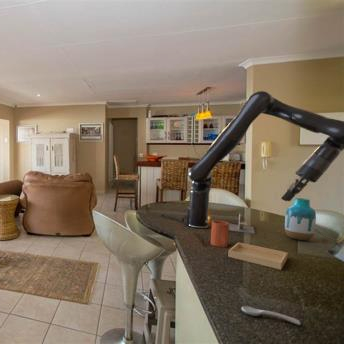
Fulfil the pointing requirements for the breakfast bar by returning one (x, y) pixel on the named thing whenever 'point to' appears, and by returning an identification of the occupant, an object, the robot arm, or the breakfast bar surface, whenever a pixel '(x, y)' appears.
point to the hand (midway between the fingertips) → (284, 200)
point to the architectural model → (241, 226)
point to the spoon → (257, 312)
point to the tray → (258, 255)
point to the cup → (219, 233)
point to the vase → (300, 220)
